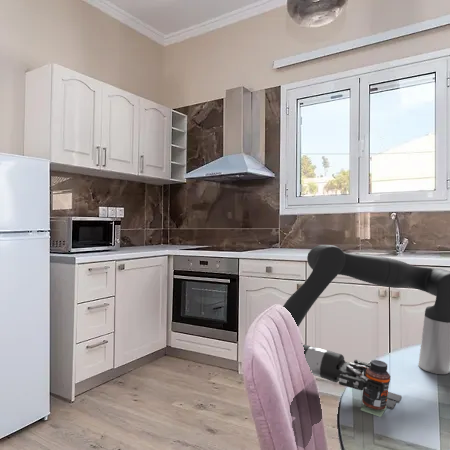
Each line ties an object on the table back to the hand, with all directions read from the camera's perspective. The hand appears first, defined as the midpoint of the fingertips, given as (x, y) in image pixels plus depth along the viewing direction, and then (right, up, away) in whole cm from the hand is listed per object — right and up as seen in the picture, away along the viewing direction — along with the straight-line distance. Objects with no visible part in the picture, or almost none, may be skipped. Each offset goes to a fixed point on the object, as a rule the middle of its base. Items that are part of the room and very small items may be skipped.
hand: (386, 383), depth 105 cm
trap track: (+1, -7, +5) cm, 9 cm away
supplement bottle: (-3, -6, +2) cm, 7 cm away
